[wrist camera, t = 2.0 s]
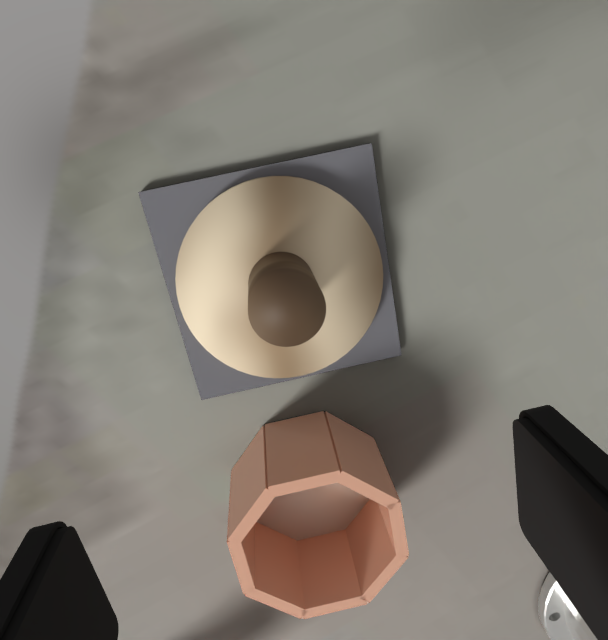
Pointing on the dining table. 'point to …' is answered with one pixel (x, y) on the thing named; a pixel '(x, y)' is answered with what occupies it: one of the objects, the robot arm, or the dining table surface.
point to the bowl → (314, 517)
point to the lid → (279, 277)
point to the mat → (193, 196)
